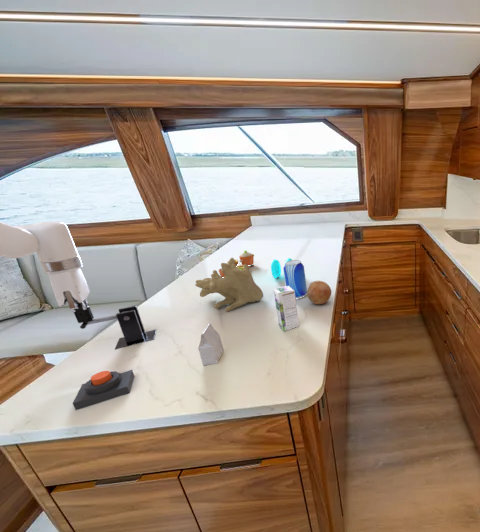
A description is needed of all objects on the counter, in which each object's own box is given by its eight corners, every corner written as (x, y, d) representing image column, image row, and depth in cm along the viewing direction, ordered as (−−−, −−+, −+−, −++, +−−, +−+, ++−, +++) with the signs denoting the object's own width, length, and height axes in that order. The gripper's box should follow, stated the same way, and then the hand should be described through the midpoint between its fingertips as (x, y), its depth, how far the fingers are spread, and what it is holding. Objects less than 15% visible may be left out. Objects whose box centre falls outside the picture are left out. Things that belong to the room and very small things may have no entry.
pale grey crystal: (223, 350, 94) (216, 322, 91) (217, 363, 88) (209, 333, 85) (210, 352, 93) (203, 324, 90) (203, 365, 87) (194, 335, 84)
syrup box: (278, 325, 108) (272, 289, 103) (294, 320, 112) (288, 284, 107) (283, 332, 104) (277, 294, 99) (300, 326, 107) (294, 289, 103)
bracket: (115, 352, 94) (102, 319, 91) (120, 340, 101) (108, 309, 97) (155, 341, 100) (144, 310, 96) (157, 331, 106) (147, 301, 102)
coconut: (337, 300, 128) (335, 278, 124) (321, 310, 119) (318, 287, 116) (319, 296, 132) (317, 275, 129) (303, 305, 124) (300, 283, 120)
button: (91, 387, 74) (88, 381, 73) (94, 379, 77) (92, 374, 76) (110, 382, 76) (108, 376, 75) (113, 374, 78) (111, 368, 78)
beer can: (292, 292, 137) (287, 259, 132) (310, 292, 136) (305, 259, 131) (284, 300, 129) (279, 265, 124) (303, 300, 129) (299, 265, 123)
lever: (81, 331, 89) (78, 324, 89) (86, 323, 94) (84, 316, 93) (133, 320, 96) (131, 313, 95) (136, 313, 100) (134, 307, 100)
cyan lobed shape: (293, 279, 153) (290, 261, 149) (272, 281, 151) (269, 262, 147) (295, 273, 162) (292, 255, 159) (275, 275, 160) (272, 257, 157)
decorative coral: (275, 281, 118) (212, 247, 109) (243, 330, 115) (175, 299, 106) (275, 275, 142) (223, 247, 133) (248, 316, 138) (193, 290, 129)
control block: (75, 410, 71) (69, 397, 70) (85, 391, 78) (79, 378, 77) (129, 393, 77) (124, 380, 75) (134, 376, 83) (130, 364, 82)
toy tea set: (229, 265, 178) (225, 249, 175) (256, 262, 182) (254, 247, 178) (215, 280, 154) (211, 262, 151) (248, 277, 158) (244, 259, 155)
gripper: (53, 260, 90) (76, 314, 96) (32, 274, 78) (60, 335, 84) (87, 256, 94) (108, 308, 100) (72, 268, 82) (96, 327, 88)
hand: (86, 320), depth 92 cm, fingers closed
